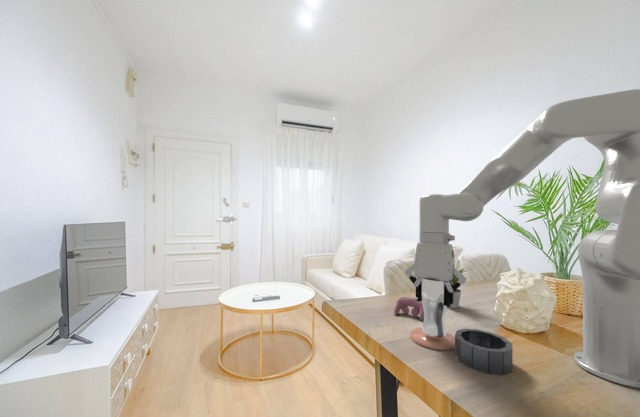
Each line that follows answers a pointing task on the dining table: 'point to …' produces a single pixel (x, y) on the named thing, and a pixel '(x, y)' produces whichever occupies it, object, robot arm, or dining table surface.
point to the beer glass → (433, 307)
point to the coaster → (433, 340)
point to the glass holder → (483, 351)
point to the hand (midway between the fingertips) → (434, 302)
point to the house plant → (457, 291)
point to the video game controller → (409, 301)
